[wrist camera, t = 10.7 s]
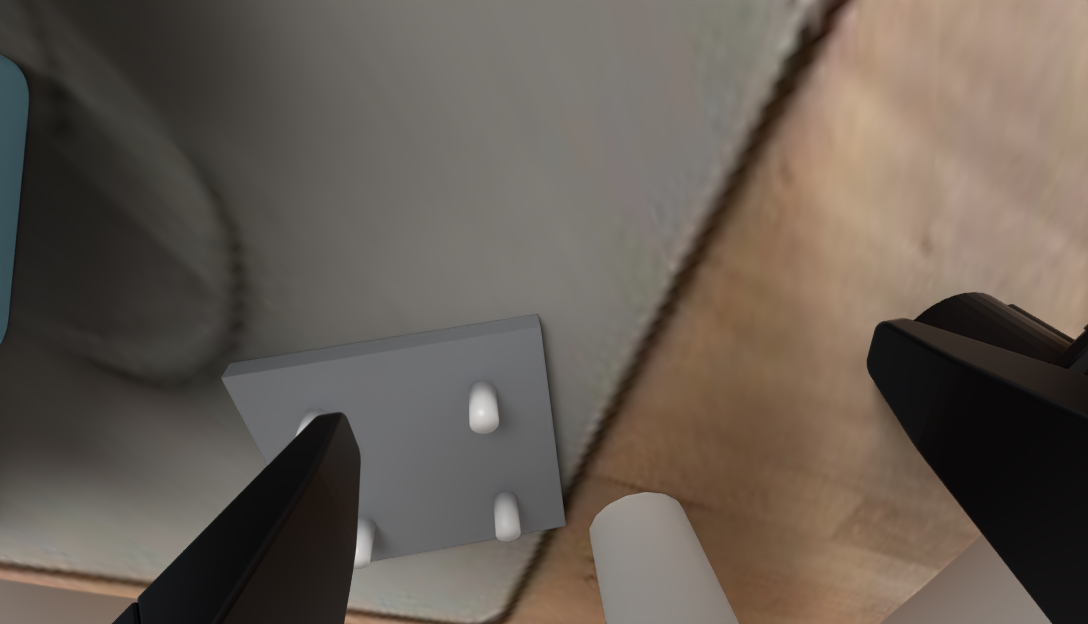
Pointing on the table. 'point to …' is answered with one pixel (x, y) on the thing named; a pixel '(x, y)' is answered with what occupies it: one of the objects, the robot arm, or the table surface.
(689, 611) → the white cup
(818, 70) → the table surface
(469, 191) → the table surface
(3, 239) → the data package
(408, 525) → the pin tray
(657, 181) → the table surface
